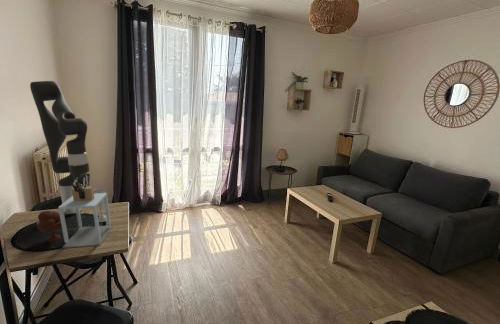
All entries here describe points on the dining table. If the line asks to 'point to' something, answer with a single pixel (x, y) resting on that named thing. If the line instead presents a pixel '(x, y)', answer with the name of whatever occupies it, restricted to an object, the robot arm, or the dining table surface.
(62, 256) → the dining table surface
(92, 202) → the cover
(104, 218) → the chalice
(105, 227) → the mat
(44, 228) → the ice cream bowl
